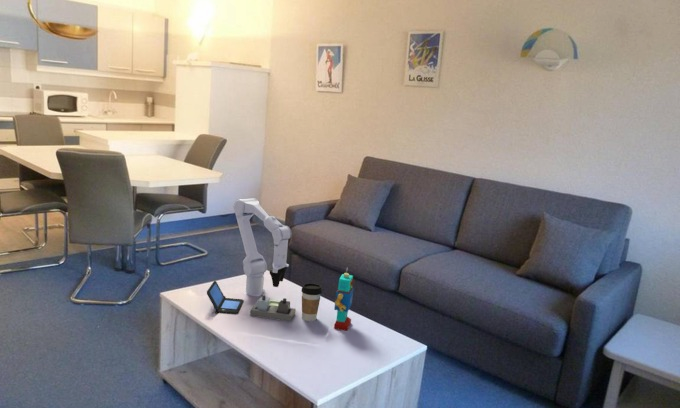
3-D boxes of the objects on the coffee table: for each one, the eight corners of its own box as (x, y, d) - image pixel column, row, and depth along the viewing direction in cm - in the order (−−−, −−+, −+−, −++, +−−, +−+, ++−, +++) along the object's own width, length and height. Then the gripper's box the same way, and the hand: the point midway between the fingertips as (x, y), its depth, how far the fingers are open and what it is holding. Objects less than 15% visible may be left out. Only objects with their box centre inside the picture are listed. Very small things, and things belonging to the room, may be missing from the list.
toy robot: (346, 332, 208) (352, 272, 204) (331, 329, 209) (337, 270, 205) (351, 321, 220) (357, 264, 215) (337, 319, 221) (343, 262, 216)
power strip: (255, 309, 222) (256, 302, 222) (294, 315, 220) (295, 308, 219) (250, 316, 214) (250, 309, 214) (290, 322, 212) (290, 315, 212)
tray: (269, 303, 230) (269, 300, 230) (287, 305, 229) (287, 302, 229) (264, 309, 223) (264, 306, 222) (282, 312, 222) (283, 309, 221)
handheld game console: (237, 316, 214) (238, 295, 212) (204, 313, 214) (205, 292, 212) (244, 302, 229) (245, 282, 228) (213, 299, 229) (214, 279, 227)
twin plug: (279, 313, 219) (281, 296, 217) (289, 315, 218) (290, 297, 217) (277, 317, 215) (278, 299, 213) (286, 318, 214) (288, 301, 213)
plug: (259, 310, 220) (260, 293, 218) (268, 312, 219) (269, 294, 218) (256, 314, 216) (257, 296, 214) (265, 315, 215) (267, 298, 214)
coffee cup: (310, 325, 211) (313, 290, 209) (294, 319, 216) (297, 284, 214) (323, 320, 218) (326, 286, 215) (307, 313, 223) (310, 280, 220)
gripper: (285, 259, 218) (282, 290, 221) (293, 250, 232) (290, 279, 235) (268, 257, 219) (266, 288, 222) (277, 248, 233) (275, 277, 236)
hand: (277, 283), depth 228 cm, fingers open, 7 cm apart
